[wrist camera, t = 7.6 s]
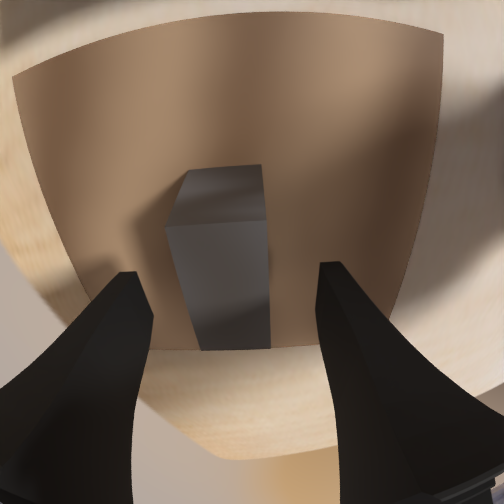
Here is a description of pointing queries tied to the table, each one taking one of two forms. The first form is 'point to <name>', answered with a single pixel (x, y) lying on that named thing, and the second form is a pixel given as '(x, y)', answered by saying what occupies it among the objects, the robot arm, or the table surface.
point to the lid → (238, 165)
